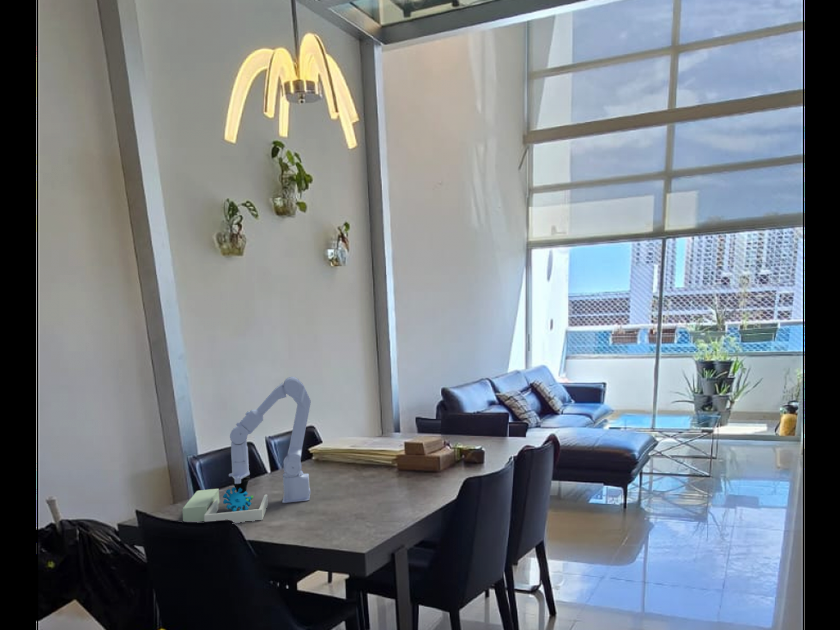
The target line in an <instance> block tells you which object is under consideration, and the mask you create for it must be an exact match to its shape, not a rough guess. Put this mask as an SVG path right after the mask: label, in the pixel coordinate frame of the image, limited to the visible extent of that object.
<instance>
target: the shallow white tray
mask: <svg viewBox="0 0 840 630" xmlns="http://www.w3.org/2000/svg"><path fill="white" fill-rule="evenodd" d="M268 507H269V497H268V494H264V495H263V498H262V501H261V503H260V506H259V508H258V509H257V508H256V509H248V510H244V509H243V511H239V510H237V511H234V512H232V511H226V512H218V510H219V504H218V499H216V500H214V502H213V503H212V505H211V506H210V508H209V509H208V510H207V512H206V513H205V515H204V521H216V520H225V519H228V520H232V521H234V522H235V523H234V524H239V523H240V522H242V523H246V522H245V521H252V522H256V521H255V520H261V521H263V520H262V519H264V516H265V514H266V512H267V509H266V508H268Z"/></svg>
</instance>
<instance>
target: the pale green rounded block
mask: <svg viewBox="0 0 840 630" xmlns="http://www.w3.org/2000/svg"><path fill="white" fill-rule="evenodd" d="M216 499H218V505H219V504H220V490H219V488H210V489H202V490H201V489H200V490H196V491H195V493H194V494H192V496H191V497H190V499H189V500H188V501H187V503H186V504H184V506H183V507H182V522H183V521H204V515H205V513H206V512H207V510H208V509H209V508H210V506H211V505H212V503H213V502H214V500H216Z"/></svg>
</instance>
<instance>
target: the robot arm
mask: <svg viewBox="0 0 840 630" xmlns="http://www.w3.org/2000/svg"><path fill="white" fill-rule="evenodd" d="M287 396H289V397H290V398H292V399H293V400H294V401H295V403H296V411H295V417H294V420H293V424H292V425H293V426H292V431H291V437H290V441H289V446H288V447H289V448H288V450H287V454H286V456H285V457H284V459H283V471H284V472H283V474H282V481H283V482H282V484H283V485H282V487H283V497H282V503H283V504H286V503H296V502H297V503H298V502H306V501H310V497H311V488H310V474H309V473H304V471H303V470H302V468H303V465H302V462H301V460H302V452H303V445H304V442H305V441H304V440H305V436H306V435H305V434H306V428H307V424H308V419H309V413H310V408H311V398H310V396H309V393H308V392H307V389H306V387H305V385H304V384H303V382H302V381H300V379H299V378H297V377H296V376H288V377H287V378H285V380H284V381H283V382H281V383H279V385H278V386H276V387H275V388H274V389H273V390H272V391H271V393H270V394H269V395H268V396H267V397H266V398H265V400H263V402H262V403H261V404H260V405H259V406H258V407H257V408H256V409H251V410H250V411H247V412H246V413H245V416H244V417H243V418H242V419H241V420H240V421H238V422H236V424H235V425H236V426H235V427H232V430H231V431H230V435H229V438H230V441H231V442H230V447H231V448H230V455H231V456H230V457H231V458H230V459H231V473H229V474H228V477H229V478H230V477H232V481H231V482H232V485H233V486H234V488H236V490H235V492H238V489H239V488H241V489H242V492H239V493H244V492H245V491H247V488H248V485H249V481H250V480H251V479H250V478H251V477H250V474H251V473H250V470H249V468H250V467H249V465H250V464H249V446H248V442H247V441H248V440H247V439H248V435H251V434H252V433H253V432H254V431H255V430H256V429H257V428H258V427H259V426H260V425H261V423H262V422H264V415H265V414H266V413H267V412H268V411H269V410H270V409H271V408H272V406H274V405H275V404H276V403H277V402H278V400H281V399H285V398H287ZM243 496H245V495H243ZM245 497H247V496H245Z"/></svg>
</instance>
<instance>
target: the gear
mask: <svg viewBox="0 0 840 630" xmlns="http://www.w3.org/2000/svg"><path fill="white" fill-rule="evenodd" d="M231 492H232V493H231ZM239 492H242V489H241V488H239V489H238V492H237V491H236V488H235V486H234V487H232V488H231V489H230V488H229V489H226V490H225V493H224V494H223V496H222V498H224V499H223V504H224V505H225V504H226V509H227V510H231V512H234V511H244V510H250V507H251V505H252V502H251V500H253V499H254V495H252V494H251V495H250V496H248V494H249V492H248V491H247V490H246V491H245V492H244V493H239ZM243 495H245V496H246V497H245V496H243ZM243 508H244V509H243ZM237 509H239V510H237Z"/></svg>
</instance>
